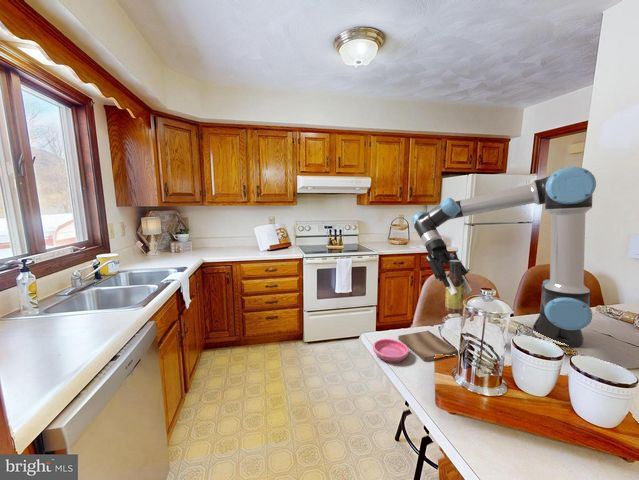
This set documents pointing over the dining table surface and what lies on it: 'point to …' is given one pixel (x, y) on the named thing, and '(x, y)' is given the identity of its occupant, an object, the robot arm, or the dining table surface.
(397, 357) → the saucer
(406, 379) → the dining table surface
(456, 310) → the sauce bottle
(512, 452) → the dining table surface
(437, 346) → the walnut serving board
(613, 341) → the dining table surface
